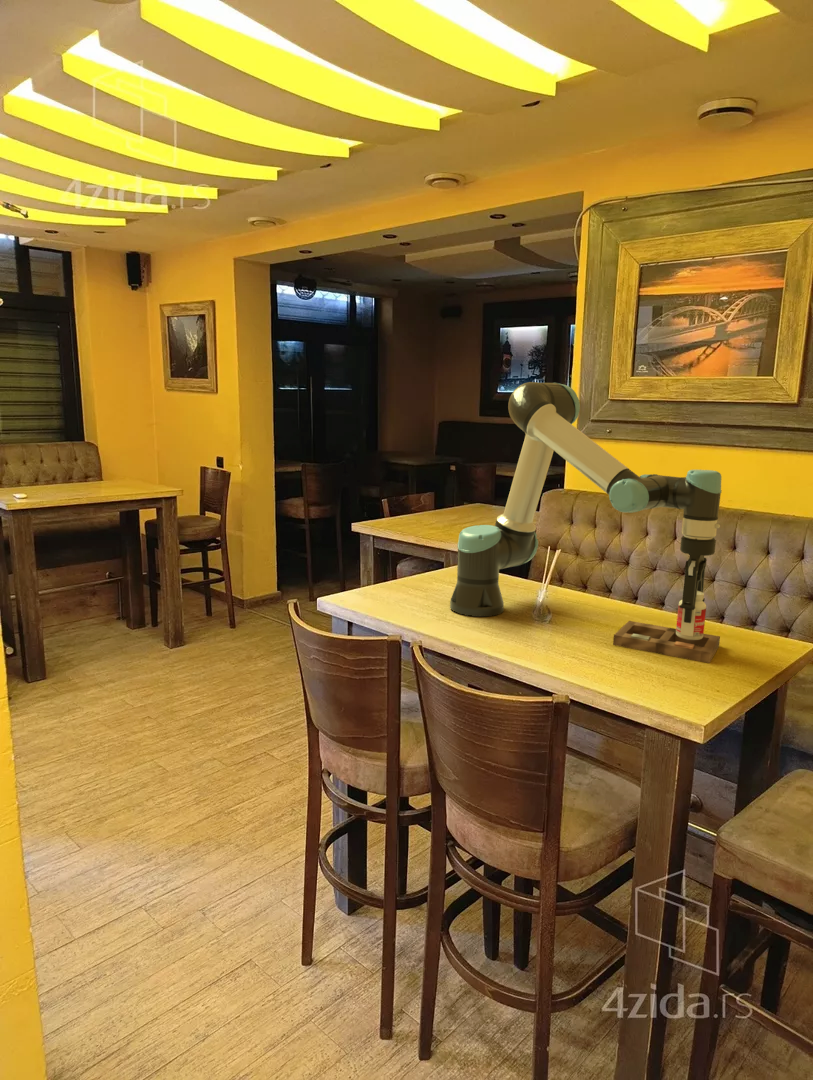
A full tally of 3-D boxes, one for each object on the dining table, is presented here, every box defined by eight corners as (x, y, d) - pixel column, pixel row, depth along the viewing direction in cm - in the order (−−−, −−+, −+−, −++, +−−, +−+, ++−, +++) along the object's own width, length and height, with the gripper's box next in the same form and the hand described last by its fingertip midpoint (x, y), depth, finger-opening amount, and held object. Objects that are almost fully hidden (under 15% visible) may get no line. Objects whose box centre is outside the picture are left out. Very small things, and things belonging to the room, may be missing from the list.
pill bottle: (687, 641, 164) (691, 596, 162) (670, 633, 170) (674, 589, 168) (708, 639, 166) (713, 594, 164) (691, 631, 172) (695, 588, 170)
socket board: (613, 644, 171) (613, 633, 171) (628, 629, 183) (629, 619, 182) (709, 663, 160) (710, 651, 159) (719, 646, 172) (720, 634, 171)
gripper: (708, 544, 154) (699, 645, 158) (722, 532, 170) (712, 623, 174) (673, 540, 158) (664, 639, 162) (689, 529, 174) (681, 618, 178)
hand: (689, 631), depth 168 cm, fingers closed on pill bottle, 6 cm apart
